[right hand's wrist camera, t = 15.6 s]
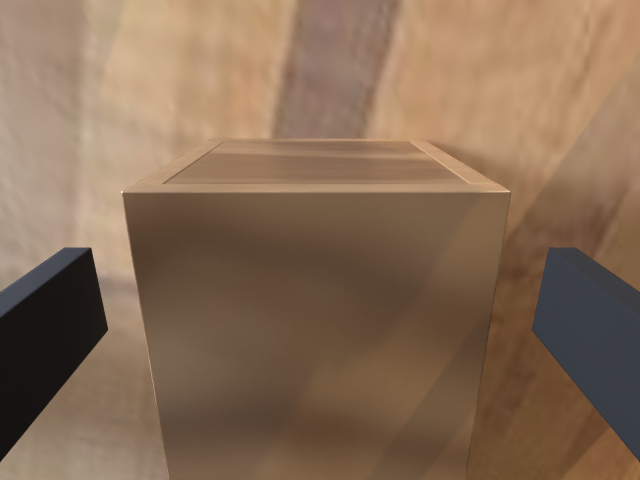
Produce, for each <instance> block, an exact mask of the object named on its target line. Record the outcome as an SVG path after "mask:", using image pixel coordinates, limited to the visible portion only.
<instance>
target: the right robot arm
mask: <svg viewBox="0 0 640 480" xmlns="http://www.w3.org/2000/svg"><path fill="white" fill-rule="evenodd" d="M107 331H108V326H107V322H106V317H105V312H104V307H103V302H102V298H101V293H100V288H99V283H98V278H97V274H96V269H95V264H94V259H93V254H92V250H91V248H63V249H62V250H60V251H59V252H57V253H56V254H55V255H53V256H52V257H50V258H49V259H47V260H46V261H44V262H43V263H42V264H40V265H39V266H37V267H36V268H34V269H33V270H31V271H30V272H29V273H27V274H26V275H24V276H23V277H21V278H20V279H18V280H17V281H16V282H14V283H13V284H11V285H10V286H8V287H7V288H5V289H4V290H3V291H1V292H0V462H1V461H2V459H3V458H4V457H5V456H6V455H7V453H8V452H9V451H10V450H11V448H12V447H13V446H14V445H15V444H16V442H17V441H18V440H19V439H20V437H21V436H22V435H23V434H24V433H25V431H26V430H27V429H28V428H29V426H30V425H31V424H32V423H33V421H34V420H35V419H36V418H37V417H38V415H39V414H40V413H41V412H42V410H43V409H44V408H45V407H46V406H47V404H48V403H49V402H50V401H51V399H52V398H53V397H54V396H55V395H56V393H57V392H58V391H59V390H60V388H61V387H62V386H63V385H64V384H65V382H66V381H67V380H68V379H69V377H70V376H71V375H72V374H73V373H74V371H75V370H76V369H77V368H78V366H79V365H80V364H81V363H82V361H83V360H84V359H85V358H86V357H87V355H88V354H89V353H90V352H91V350H92V349H93V348H94V347H95V346H96V344H97V343H98V342H99V341H100V339H101V338H102V337H103V336H104V335H105V333H106V332H107ZM532 331H533V332H534V333H535V335H536V336H537V337H538V338H539V339H540V341H541V342H542V343H543V344H544V346H545V347H546V348H547V349H548V350H549V352H550V353H551V354H552V355H553V357H554V358H555V359H556V360H557V361H558V363H559V364H560V365H561V366H562V368H563V369H564V370H565V371H566V373H567V374H568V375H569V376H570V377H571V379H572V380H573V381H574V382H575V384H576V385H577V386H578V387H579V388H580V390H581V391H582V392H583V393H584V395H585V396H586V397H587V398H588V399H589V401H590V402H591V403H592V404H593V406H594V407H595V408H596V409H597V410H598V412H599V413H600V414H601V415H602V417H603V418H604V419H605V420H606V421H607V423H608V424H609V425H610V426H611V428H612V429H613V430H614V431H615V433H616V434H617V435H618V436H619V437H620V439H621V440H622V441H623V442H624V444H625V445H626V446H627V447H628V448H629V450H630V451H631V452H632V453H633V455H634V456H635V457H636V458H637V459H638V461H639V462H640V292H639V291H637V290H636V289H635V288H633V287H632V286H630V285H629V284H627V283H626V282H624V281H623V280H622V279H620V278H619V277H617V276H616V275H614V274H613V273H611V272H610V271H609V270H607V269H606V268H604V267H603V266H601V265H600V264H598V263H597V262H596V261H594V260H593V259H591V258H590V257H588V256H587V255H585V254H584V253H583V252H581V251H580V250H578V249H577V248H549V249H548V254H547V259H546V264H545V269H544V274H543V278H542V283H541V288H540V293H539V298H538V302H537V307H536V312H535V317H534V322H533V326H532Z"/></svg>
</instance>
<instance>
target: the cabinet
mask: <svg viewBox="0 0 640 480" xmlns="http://www.w3.org/2000/svg"><path fill="white" fill-rule="evenodd" d="M121 195H122V201H123V207H124V213H125V219H126V225H127V231H128V237H129V243H130V249H131V255H132V261H133V267H134V273H135V280H136V286H137V292H138V298H139V304H140V310H141V316H142V322H143V328H144V334H145V340H146V346H147V352H148V358H149V364H150V370H151V376H152V382H153V389H154V395H155V401H156V407H157V413H158V419H159V425H160V431H161V437H162V443H163V449H164V455H165V461H166V467H167V473H168V479H169V480H465V477H466V470H467V464H468V458H469V452H470V445H471V439H472V433H473V427H474V420H475V414H476V408H477V402H478V396H479V389H480V383H481V377H482V371H483V364H484V358H485V352H486V346H487V339H488V333H489V327H490V321H491V314H492V308H493V302H494V296H495V289H496V283H497V277H498V271H499V265H500V258H501V252H502V246H503V240H504V233H505V227H506V221H507V215H508V208H509V202H510V196H511V191H510V190H508V189H506V188H505V187H503V186H501V185H499V184H497V183H496V182H494V181H492V180H491V179H489V178H487V177H485V176H484V175H482V174H480V173H479V172H477V171H475V170H474V169H472V168H470V167H469V166H467V165H465V164H464V163H462V162H460V161H459V160H457V159H455V158H453V157H452V156H450V155H448V154H447V153H445V152H443V151H442V150H440V149H438V148H437V147H435V146H433V145H432V144H430V143H428V142H427V141H425V140H423V139H210V140H209V141H207V142H205V143H203V144H202V145H200V146H198V147H196V148H195V149H193V150H191V151H190V152H188V153H186V154H184V155H183V156H181V157H179V158H178V159H176V160H174V161H172V162H171V163H169V164H167V165H166V166H164V167H162V168H160V169H159V170H157V171H155V172H154V173H152V174H150V175H148V176H147V177H145V178H143V179H142V180H140V181H138V182H136V183H135V184H133V185H131V186H130V187H128V188H126V189H125V190H123V191H122V192H121Z"/></svg>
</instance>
